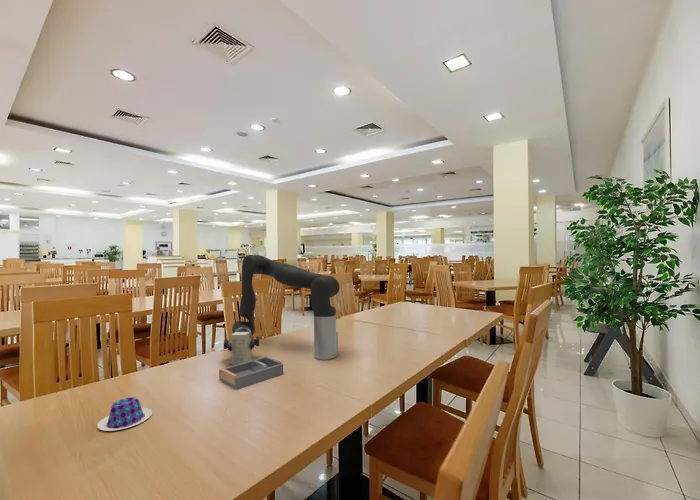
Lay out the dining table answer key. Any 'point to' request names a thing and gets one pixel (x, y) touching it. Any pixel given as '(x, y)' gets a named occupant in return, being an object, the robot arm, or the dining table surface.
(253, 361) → the bar
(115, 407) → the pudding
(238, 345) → the skincare box
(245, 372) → the pusher lane
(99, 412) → the dining table surface
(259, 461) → the dining table surface
